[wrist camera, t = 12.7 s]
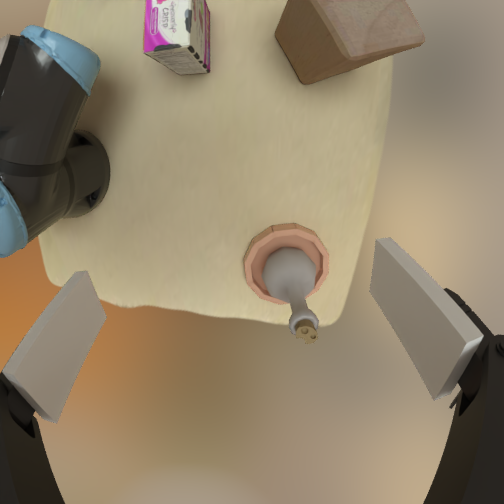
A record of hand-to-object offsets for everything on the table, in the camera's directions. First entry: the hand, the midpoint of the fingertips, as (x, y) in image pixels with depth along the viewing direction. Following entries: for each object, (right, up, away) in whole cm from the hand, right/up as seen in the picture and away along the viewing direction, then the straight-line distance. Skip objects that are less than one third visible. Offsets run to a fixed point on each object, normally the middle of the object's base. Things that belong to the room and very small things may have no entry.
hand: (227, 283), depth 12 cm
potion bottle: (+7, -1, +36) cm, 36 cm away
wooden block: (+11, +32, +21) cm, 40 cm away
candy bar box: (-8, +32, +20) cm, 39 cm away
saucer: (+7, 0, +36) cm, 37 cm away
